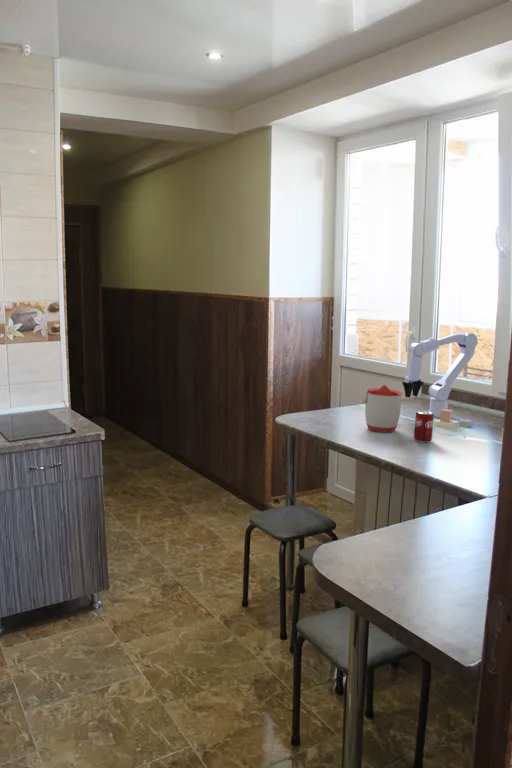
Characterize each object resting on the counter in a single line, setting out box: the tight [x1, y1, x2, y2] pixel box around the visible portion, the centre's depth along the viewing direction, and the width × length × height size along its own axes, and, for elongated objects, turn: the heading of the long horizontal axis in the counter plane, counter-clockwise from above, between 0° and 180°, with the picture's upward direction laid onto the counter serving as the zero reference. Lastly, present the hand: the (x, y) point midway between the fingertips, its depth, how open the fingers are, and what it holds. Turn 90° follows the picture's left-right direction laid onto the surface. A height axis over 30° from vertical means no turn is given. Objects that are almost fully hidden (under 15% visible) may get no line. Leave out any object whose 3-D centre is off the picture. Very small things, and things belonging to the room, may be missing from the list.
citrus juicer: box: [360, 384, 403, 433], centre depth 283 cm, size 16×17×20 cm
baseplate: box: [433, 419, 468, 433], centre depth 293 cm, size 16×16×1 cm
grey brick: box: [459, 418, 471, 428], centre depth 294 cm, size 4×4×2 cm
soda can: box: [413, 410, 435, 443], centre depth 268 cm, size 7×7×12 cm
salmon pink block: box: [439, 409, 453, 422], centre depth 293 cm, size 4×4×5 cm
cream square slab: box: [433, 418, 460, 428], centre depth 293 cm, size 8×8×2 cm
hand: (411, 396), depth 308 cm, fingers open, 7 cm apart
